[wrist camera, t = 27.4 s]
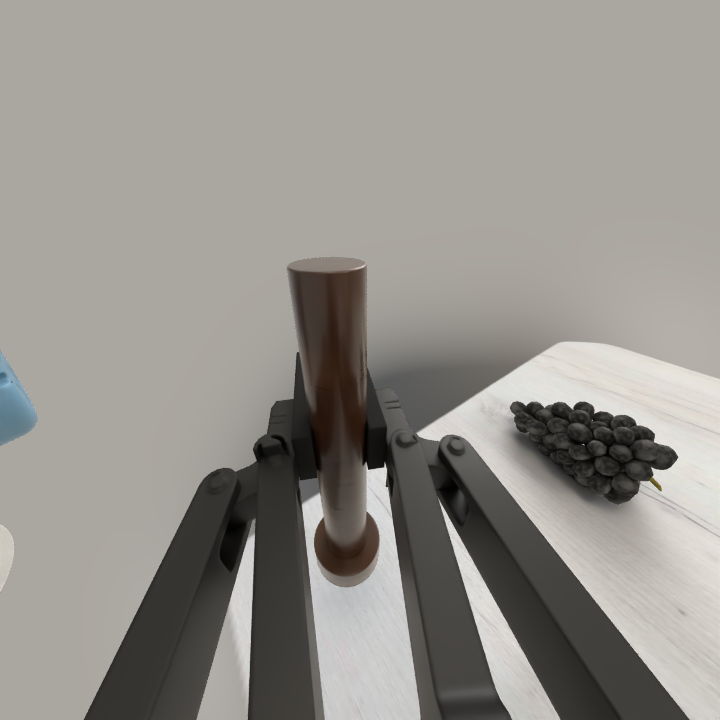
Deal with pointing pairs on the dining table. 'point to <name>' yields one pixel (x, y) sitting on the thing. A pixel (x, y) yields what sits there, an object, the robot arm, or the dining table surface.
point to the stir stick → (337, 408)
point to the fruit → (595, 446)
